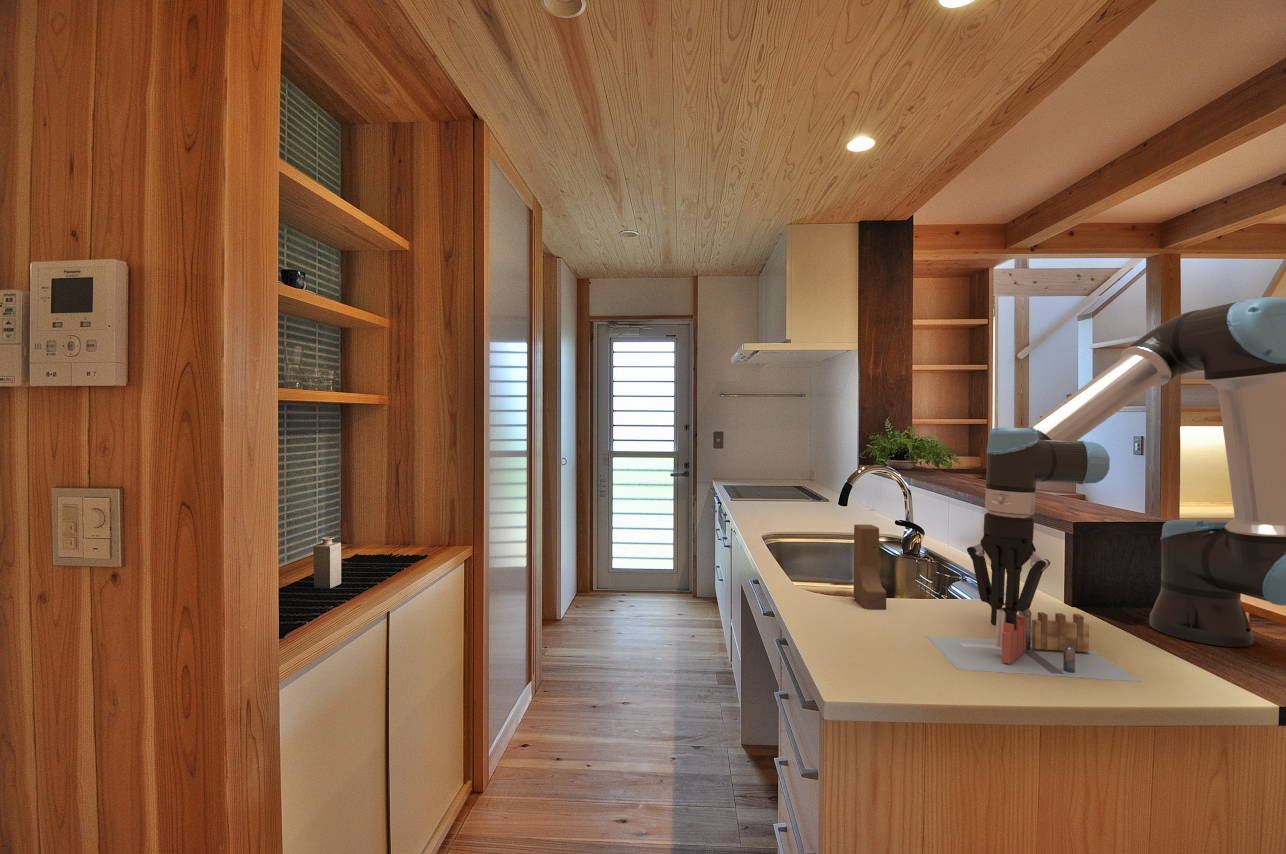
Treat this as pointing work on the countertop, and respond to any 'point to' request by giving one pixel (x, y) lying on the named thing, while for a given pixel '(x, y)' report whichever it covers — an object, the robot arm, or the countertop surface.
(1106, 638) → the countertop surface
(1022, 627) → the fence panel
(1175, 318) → the robot arm
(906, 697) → the countertop surface
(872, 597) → the wooden block
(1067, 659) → the peg
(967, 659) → the card
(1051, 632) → the fence fixed
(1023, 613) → the post
